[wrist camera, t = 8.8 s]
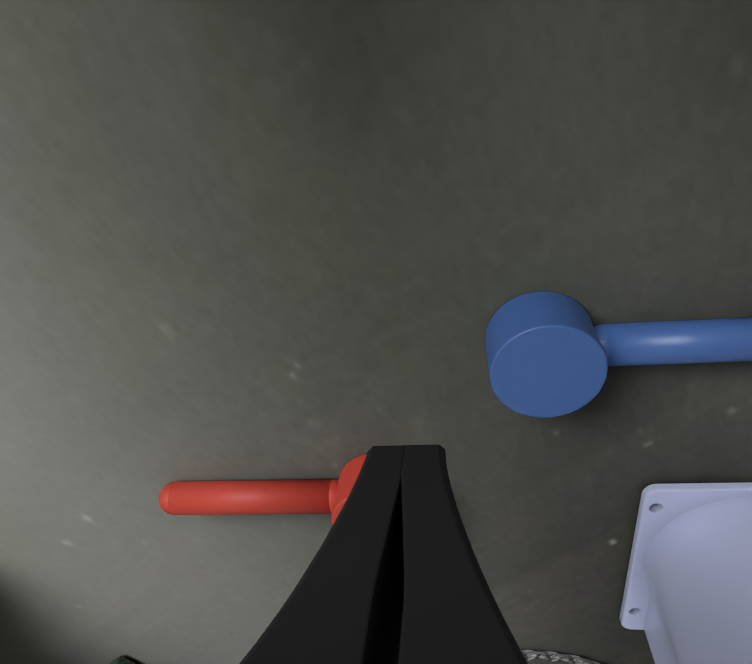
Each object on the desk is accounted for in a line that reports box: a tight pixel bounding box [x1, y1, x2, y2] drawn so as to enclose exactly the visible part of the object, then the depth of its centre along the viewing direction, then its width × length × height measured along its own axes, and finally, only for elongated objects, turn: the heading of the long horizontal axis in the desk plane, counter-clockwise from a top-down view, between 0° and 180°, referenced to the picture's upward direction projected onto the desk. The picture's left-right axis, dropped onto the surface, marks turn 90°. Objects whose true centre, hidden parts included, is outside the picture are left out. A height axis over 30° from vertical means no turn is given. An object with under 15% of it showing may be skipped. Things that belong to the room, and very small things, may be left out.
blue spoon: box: [485, 291, 752, 418], centre depth 18 cm, size 12×4×2 cm, turn 96°
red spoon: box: [159, 454, 367, 525], centre depth 24 cm, size 12×4×2 cm, turn 97°
